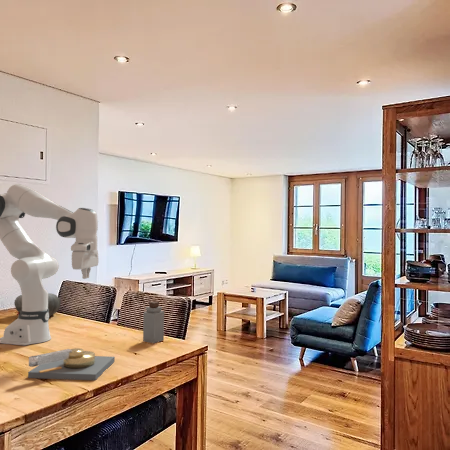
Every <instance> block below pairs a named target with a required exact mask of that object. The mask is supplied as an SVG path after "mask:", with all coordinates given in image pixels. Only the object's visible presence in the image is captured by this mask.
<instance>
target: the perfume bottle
mask: <svg viewBox="0 0 450 450" xmlns="http://www.w3.org/2000/svg"><path fill="white" fill-rule="evenodd" d="M148 305H149V306H146V307H145V310H146V311H144V312H143V315H142V316H143V323H142V325H143V327H142V328H143V329H142V330H143V331H142V336H143V337H142V342H144V343H146V342H147V343H150V344H157V343H159V342H160V343H161V342H163V341H164V339H165V338H164V336H165V329H164V328H165V311H162V309H163V307H162V306H160V302H159V301H150V302H149V303H148Z"/></svg>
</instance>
